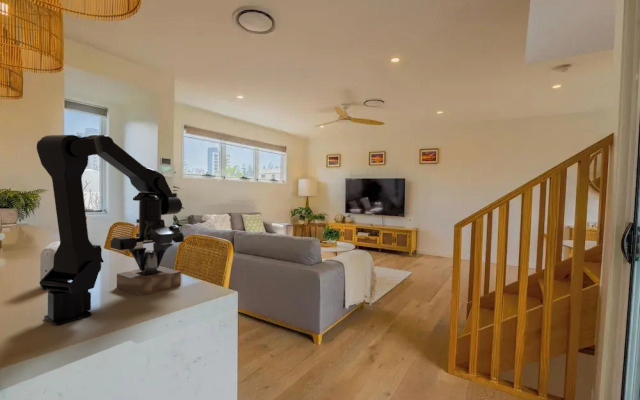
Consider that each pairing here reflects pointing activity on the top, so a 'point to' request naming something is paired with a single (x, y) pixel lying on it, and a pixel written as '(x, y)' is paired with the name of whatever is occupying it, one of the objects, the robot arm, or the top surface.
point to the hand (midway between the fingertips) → (149, 269)
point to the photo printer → (47, 258)
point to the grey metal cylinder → (150, 262)
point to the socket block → (148, 281)
